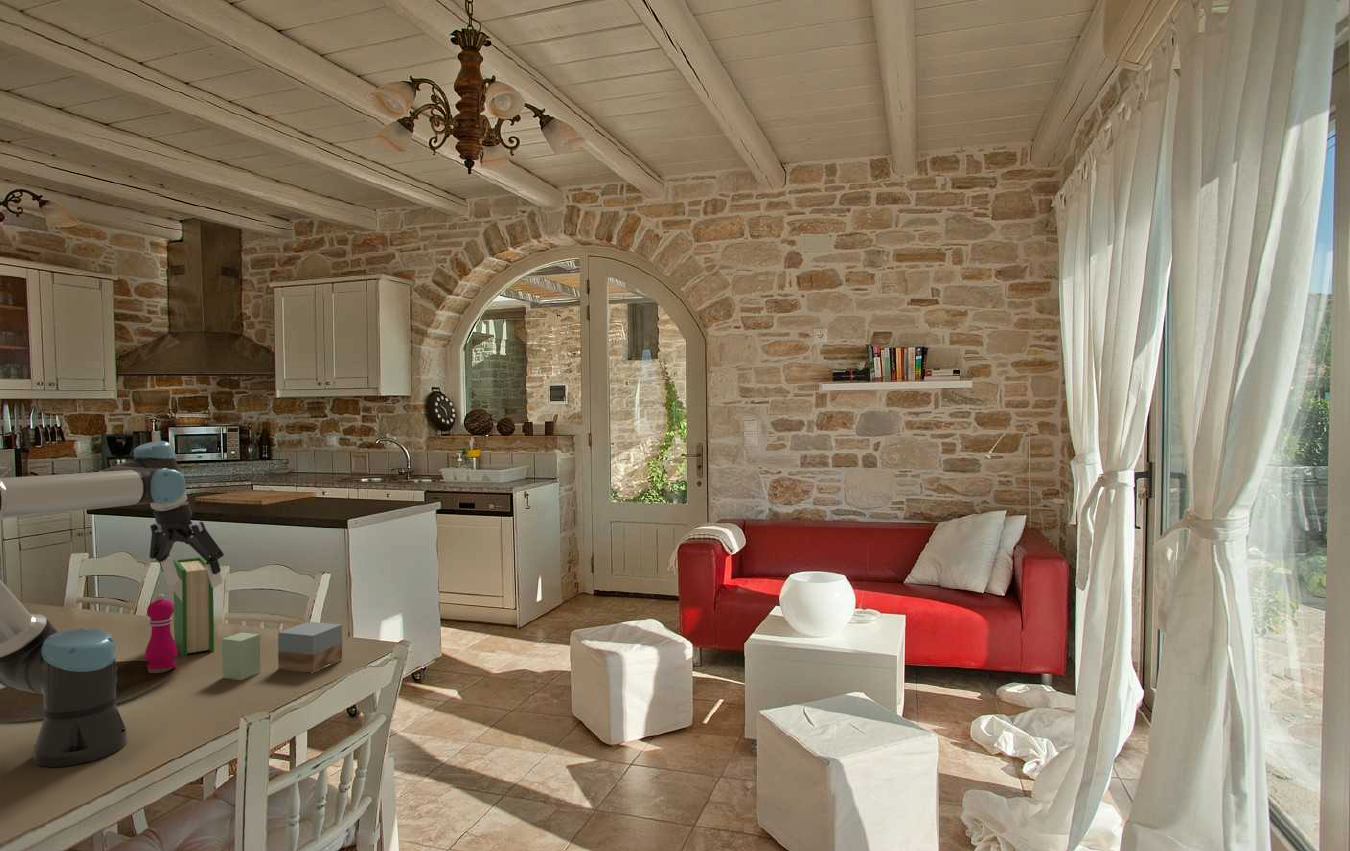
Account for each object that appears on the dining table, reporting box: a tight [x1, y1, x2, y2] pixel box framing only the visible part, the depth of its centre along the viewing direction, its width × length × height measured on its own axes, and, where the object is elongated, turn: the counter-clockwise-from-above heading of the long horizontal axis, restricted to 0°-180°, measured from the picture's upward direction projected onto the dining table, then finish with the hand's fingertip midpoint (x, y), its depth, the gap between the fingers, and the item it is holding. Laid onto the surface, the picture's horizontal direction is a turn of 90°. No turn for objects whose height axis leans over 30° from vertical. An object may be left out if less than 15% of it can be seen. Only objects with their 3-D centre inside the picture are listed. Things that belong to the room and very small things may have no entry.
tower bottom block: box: [277, 642, 343, 673], centre depth 213 cm, size 11×11×5 cm
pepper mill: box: [144, 593, 179, 669], centre depth 208 cm, size 7×7×20 cm
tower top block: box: [277, 621, 343, 655], centre depth 213 cm, size 11×11×5 cm
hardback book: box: [173, 556, 215, 658], centre depth 228 cm, size 18×7×24 cm, turn 39°
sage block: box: [221, 632, 261, 681], centre depth 205 cm, size 6×6×10 cm
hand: (195, 584), depth 197 cm, fingers open, 13 cm apart
